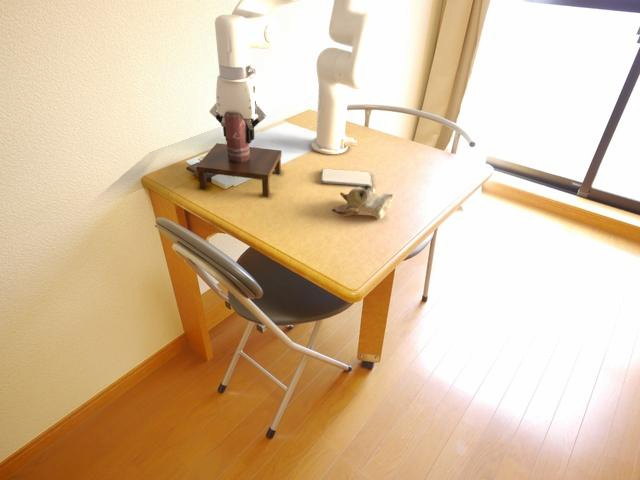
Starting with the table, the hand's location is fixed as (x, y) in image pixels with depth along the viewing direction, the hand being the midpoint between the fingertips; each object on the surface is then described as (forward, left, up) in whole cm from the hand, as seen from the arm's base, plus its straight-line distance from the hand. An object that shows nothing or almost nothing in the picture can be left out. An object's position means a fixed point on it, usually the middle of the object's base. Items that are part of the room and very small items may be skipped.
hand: (239, 139), depth 112 cm
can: (0, 0, -6) cm, 6 cm away
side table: (0, 0, -12) cm, 12 cm away
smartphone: (-30, -8, -12) cm, 33 cm away
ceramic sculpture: (-36, +10, -13) cm, 39 cm away
